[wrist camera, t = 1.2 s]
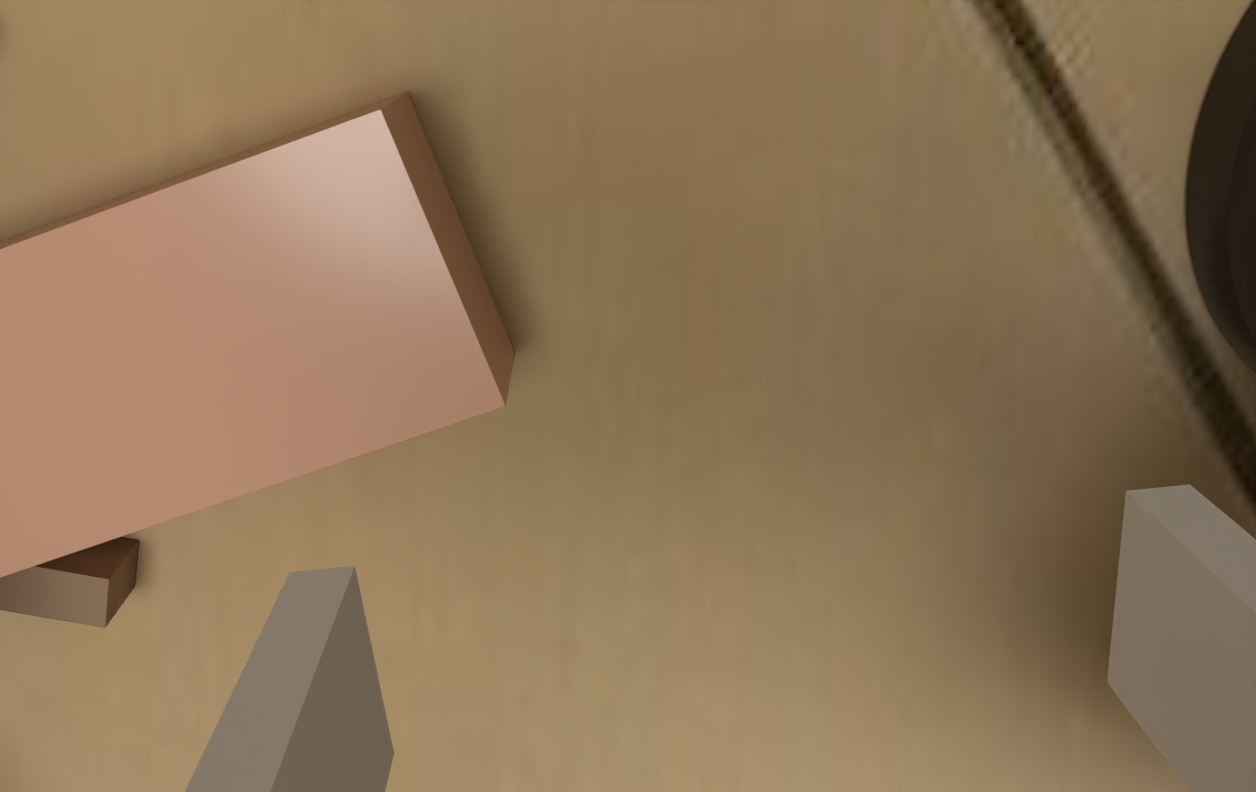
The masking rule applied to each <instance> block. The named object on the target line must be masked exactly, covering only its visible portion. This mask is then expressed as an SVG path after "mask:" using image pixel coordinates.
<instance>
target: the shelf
mask: <svg viewBox="0 0 1256 792" xmlns="http://www.w3.org/2000/svg"><path fill="white" fill-rule="evenodd" d="M138 543H139V541H136V540H131V539H125V538H120V537H118V538H115V539H112V540H109V541H106V542H104V543H101V544H98V545H95V546H92V547H89V548H86V549H83V550H80V551H77V552H74V553H71V554H68V555H65V556H62V557H59V558H56V559H53V560H50V561H47V562H45V563H42V564H39V565H36V566H33V567H30V568H27V569H24V570H21V571H18V572H15V573H12V574H9V575H6V576H3V577H0V610H3V611H9V612H15V613H21V614H27V615H33V616H39V617H45V618H50V619H56V620H62V621H68V622H74V623H80V624H86V625H92V626H98V627H103V628H105V627H106V626H107V625H108V623H109V622H110V620H111V619H112V618H113V616H114V615H115V614H116V612H117V611H118V609H119V608H120V607H121V605H122V604H123V602H124V601H125V600H126V598H127V597H128V595H129V594H130V593H131V591H132V590H133V589H134V587H135V577H136V566H137V554H138Z"/></svg>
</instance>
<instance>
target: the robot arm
mask: <svg viewBox="0 0 1256 792" xmlns="http://www.w3.org/2000/svg"><path fill="white" fill-rule="evenodd" d="M1188 227H1189V240H1190V246H1191V252H1192V258H1193V263H1194V267H1195V271H1196V275H1197V279H1198V282H1199V285H1200V288H1201V290H1202V293H1203V296H1204V299H1205V301H1206V303H1207V305H1208V308H1209V310H1210V312H1211V314H1212V316H1213V318H1214V320H1215V321H1216V323H1217V325H1218V327H1219V329H1220V330H1221V332H1222V333H1223V335H1224V336H1225V338H1226V339H1227V341H1228V342H1229V343H1230V345H1231V346H1232V347H1233V348H1234V350H1235V351H1236V352H1237V353H1238V354H1239V356H1240V357H1241V358H1242V359H1243V360H1244V361H1245V362H1246V363H1247V364H1248V365H1249V366H1250V367H1251V368H1252V369H1253V370H1254V371H1255V372H1256V1H1255V3H1254V4H1253V6H1252V7H1251V9H1250V10H1249V12H1248V14H1247V15H1246V17H1245V19H1244V21H1243V22H1242V24H1241V26H1240V27H1239V29H1238V31H1237V32H1236V34H1235V36H1234V38H1233V40H1232V42H1231V44H1230V46H1229V48H1228V50H1227V52H1226V54H1225V56H1224V58H1223V60H1222V62H1221V65H1220V67H1219V69H1218V71H1217V74H1216V76H1215V78H1214V81H1213V83H1212V86H1211V89H1210V91H1209V94H1208V97H1207V100H1206V102H1205V105H1204V109H1203V112H1202V116H1201V119H1200V123H1199V126H1198V130H1197V135H1196V139H1195V144H1194V148H1193V154H1192V160H1191V167H1190V174H1189V187H1188ZM1107 683H1108V684H1109V686H1110V687H1111V688H1112V690H1113V691H1114V692H1115V694H1116V695H1117V696H1118V698H1119V699H1120V700H1121V702H1122V703H1123V704H1124V706H1125V707H1126V708H1127V710H1128V711H1129V712H1130V714H1131V715H1132V716H1133V718H1134V719H1135V720H1136V722H1137V723H1138V724H1139V726H1140V727H1141V728H1142V730H1143V731H1144V732H1145V734H1146V735H1147V736H1148V738H1149V739H1150V740H1151V742H1152V743H1153V744H1154V746H1155V747H1156V748H1157V750H1158V751H1159V752H1160V754H1161V755H1162V756H1163V758H1164V759H1165V760H1166V762H1167V763H1168V765H1169V766H1170V767H1171V769H1172V770H1173V771H1174V773H1175V774H1176V775H1177V777H1178V778H1179V779H1180V781H1181V782H1182V783H1183V785H1184V786H1185V787H1186V789H1187V790H1188V791H1189V792H1256V539H1255V538H1254V537H1252V536H1251V535H1250V534H1249V533H1248V532H1246V531H1245V530H1244V529H1243V528H1242V527H1240V526H1239V525H1238V524H1237V523H1236V522H1234V521H1233V520H1232V519H1231V518H1230V517H1228V516H1227V515H1226V514H1225V513H1224V512H1222V511H1221V510H1220V509H1219V508H1218V507H1216V506H1215V505H1214V504H1213V503H1212V502H1210V501H1209V500H1208V499H1207V498H1206V497H1204V496H1203V495H1202V494H1201V493H1200V492H1198V491H1197V490H1196V489H1195V488H1194V487H1192V486H1191V485H1190V484H1188V485H1178V486H1168V487H1158V488H1147V489H1137V490H1127V491H1126V495H1125V505H1124V515H1123V525H1122V535H1121V546H1120V556H1119V566H1118V576H1117V586H1116V596H1115V606H1114V616H1113V626H1112V636H1111V647H1110V657H1109V667H1108V677H1107ZM393 755H394V751H393V746H392V741H391V737H390V732H389V727H388V722H387V717H386V713H385V708H384V703H383V698H382V694H381V689H380V684H379V679H378V675H377V670H376V665H375V660H374V655H373V651H372V646H371V641H370V636H369V632H368V627H367V622H366V617H365V612H364V608H363V603H362V598H361V593H360V589H359V584H358V579H357V574H356V570H355V566H351V567H340V568H330V569H320V570H310V571H300V572H290V573H289V575H288V577H287V580H286V582H285V584H284V586H283V588H282V590H281V592H280V594H279V596H278V598H277V600H276V603H275V605H274V607H273V609H272V611H271V613H270V615H269V617H268V619H267V621H266V623H265V625H264V628H263V630H262V632H261V634H260V636H259V638H258V640H257V642H256V644H255V646H254V648H253V651H252V653H251V655H250V657H249V659H248V661H247V663H246V665H245V667H244V669H243V671H242V674H241V676H240V678H239V680H238V682H237V684H236V686H235V688H234V690H233V692H232V694H231V697H230V699H229V701H228V703H227V705H226V707H225V709H224V711H223V713H222V715H221V717H220V720H219V722H218V724H217V726H216V728H215V730H214V732H213V734H212V736H211V738H210V740H209V742H208V745H207V747H206V749H205V751H204V753H203V755H202V757H201V759H200V761H199V763H198V765H197V768H196V770H195V772H194V774H193V776H192V778H191V780H190V782H189V784H188V786H187V788H186V791H185V792H385V789H386V785H387V781H388V777H389V772H390V768H391V764H392V759H393Z"/></svg>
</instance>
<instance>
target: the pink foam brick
mask: <svg viewBox="0 0 1256 792" xmlns="http://www.w3.org/2000/svg"><path fill="white" fill-rule="evenodd" d="M514 356H515V352H514V349H513V347H512V345H511V342H510V340H509V337H508V335H507V332H506V330H505V328H504V325H503V323H502V320H501V318H500V315H499V313H498V311H497V308H496V306H495V303H494V301H493V298H492V296H491V293H490V291H489V289H488V286H487V284H486V281H485V279H484V276H483V274H482V272H481V269H480V267H479V264H478V262H477V259H476V257H475V254H474V252H473V250H472V247H471V245H470V242H469V240H468V237H467V235H466V233H465V230H464V228H463V225H462V223H461V220H460V218H459V215H458V213H457V211H456V208H455V206H454V203H453V201H452V198H451V196H450V194H449V191H448V189H447V186H446V184H445V181H444V179H443V177H442V174H441V172H440V169H439V167H438V164H437V162H436V159H435V157H434V155H433V152H432V150H431V147H430V145H429V142H428V140H427V138H426V135H425V133H424V130H423V128H422V125H421V123H420V120H419V118H418V116H417V113H416V111H415V108H414V106H413V103H412V101H411V99H410V96H409V94H408V91H406V92H404V93H401V94H398V95H396V96H393V97H390V98H387V99H385V100H382V101H379V102H377V103H374V104H371V105H368V106H366V107H363V108H360V109H358V110H355V111H352V112H349V113H347V114H344V115H341V116H339V117H336V118H333V119H330V120H328V121H325V122H322V123H320V124H317V125H314V126H311V127H309V128H306V129H303V130H301V131H298V132H295V133H292V134H290V135H287V136H284V137H282V138H279V139H276V140H273V141H271V142H268V143H265V144H263V145H260V146H257V147H254V148H252V149H249V150H246V151H244V152H241V153H238V154H235V155H233V156H230V157H227V158H225V159H222V160H219V161H216V162H214V163H211V164H208V165H206V166H203V167H200V168H198V169H195V170H192V171H189V172H187V173H184V174H181V175H179V176H176V177H173V178H170V179H168V180H165V181H162V182H160V183H157V184H154V185H151V186H149V187H146V188H143V189H141V190H138V191H135V192H132V193H130V194H127V195H124V196H122V197H119V198H116V199H113V200H111V201H108V202H105V203H103V204H100V205H97V206H94V207H92V208H89V209H86V210H84V211H81V212H78V213H75V214H73V215H70V216H67V217H65V218H62V219H59V220H56V221H54V222H51V223H48V224H46V225H43V226H40V227H37V228H35V229H32V230H29V231H27V232H24V233H21V234H18V235H16V236H13V237H10V238H8V239H5V240H2V241H0V577H3V576H6V575H9V574H12V573H15V572H18V571H21V570H24V569H27V568H30V567H33V566H36V565H39V564H42V563H45V562H47V561H50V560H53V559H56V558H59V557H62V556H65V555H68V554H71V553H74V552H77V551H80V550H83V549H86V548H89V547H92V546H95V545H98V544H101V543H104V542H106V541H109V540H112V539H115V538H118V537H121V536H124V535H127V534H130V533H133V532H136V531H139V530H142V529H145V528H148V527H151V526H154V525H157V524H160V523H163V522H166V521H168V520H171V519H174V518H177V517H180V516H183V515H186V514H189V513H192V512H195V511H198V510H201V509H204V508H207V507H210V506H213V505H216V504H219V503H222V502H225V501H227V500H230V499H233V498H236V497H239V496H242V495H245V494H248V493H251V492H254V491H257V490H260V489H263V488H266V487H269V486H272V485H275V484H278V483H281V482H284V481H287V480H289V479H292V478H295V477H298V476H301V475H304V474H307V473H310V472H313V471H316V470H319V469H322V468H325V467H328V466H331V465H334V464H337V463H340V462H343V461H346V460H348V459H351V458H354V457H357V456H360V455H363V454H366V453H369V452H372V451H375V450H378V449H381V448H384V447H387V446H390V445H393V444H396V443H399V442H402V441H405V440H407V439H410V438H413V437H416V436H419V435H422V434H425V433H428V432H431V431H434V430H437V429H440V428H443V427H446V426H449V425H452V424H455V423H458V422H461V421H464V420H467V419H469V418H472V417H475V416H478V415H481V414H484V413H487V412H490V411H493V410H496V409H499V408H502V407H505V406H506V402H507V396H508V390H509V384H510V379H511V373H512V367H513V361H514Z"/></svg>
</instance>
